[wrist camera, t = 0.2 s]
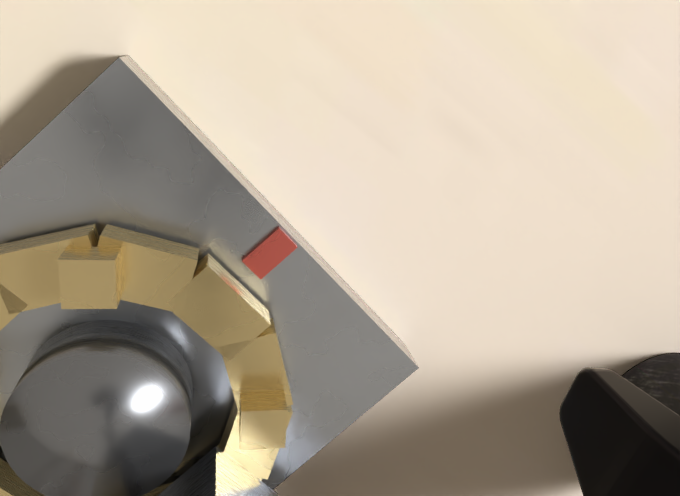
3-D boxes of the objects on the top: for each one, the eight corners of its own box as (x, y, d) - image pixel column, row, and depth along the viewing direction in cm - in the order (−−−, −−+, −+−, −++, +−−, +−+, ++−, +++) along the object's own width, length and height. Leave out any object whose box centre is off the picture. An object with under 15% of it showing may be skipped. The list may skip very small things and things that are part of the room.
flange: (112, 590, 28) (93, 688, 23) (-226, 389, 22) (-332, 473, 17) (404, 344, 26) (439, 403, 22) (128, 54, 20) (104, 60, 16)
